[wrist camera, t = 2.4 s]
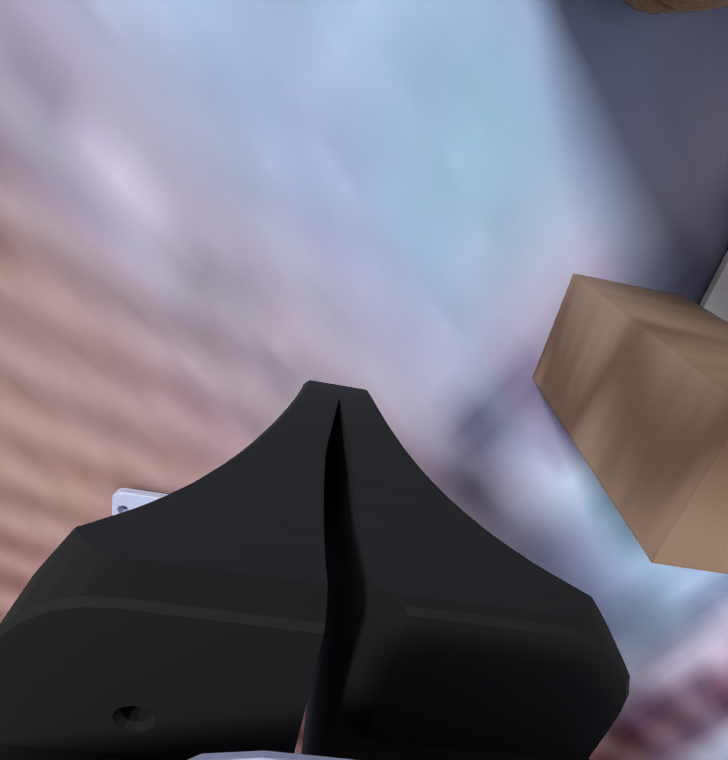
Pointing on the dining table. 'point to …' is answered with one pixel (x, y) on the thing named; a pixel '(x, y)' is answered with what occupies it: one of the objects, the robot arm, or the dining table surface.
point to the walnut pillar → (647, 412)
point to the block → (675, 5)
